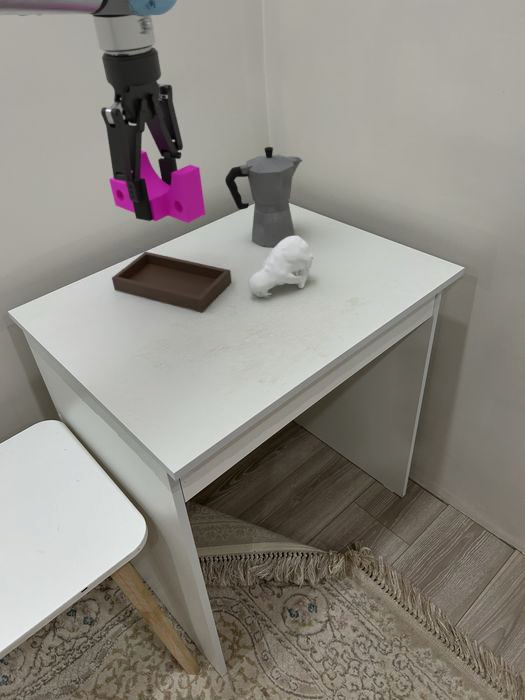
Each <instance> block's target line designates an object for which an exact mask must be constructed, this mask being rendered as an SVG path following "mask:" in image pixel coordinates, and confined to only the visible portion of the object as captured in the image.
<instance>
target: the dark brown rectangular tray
mask: <svg viewBox="0 0 525 700" xmlns="http://www.w3.org/2000/svg"><path fill="white" fill-rule="evenodd" d="M111 281H112V284H113V288H114V291H118V292H121V293H125V294H129V295H132V296H136V297H140V298H144V299H147V300H152V301H156V302H160V303H163V304H168V305H172V306H175V307H179V308H183V309H186V310H190V311H194V312H199V313H204V312H205V310H207V308H209V306H211V304H213V302H214V301H216V299H217V298H218V297H219V296H220V295H221V294H222V293H223V292H224V291H226V289H227V288H228V287H230V285H231V284H232V272H231V269H227V268H222V267H217V266H213V265H208V264H204V263H199V262H194V261H190V260H185V259H181V258H176V257H172V256H167V255H162V254H158V253H154V252H149V251H144V252H143V253H142V254H140V255H138V256H137V257H136V259H134V260H132V261H131V262H129V264H128V265H126V266H125V267H124V268H122V269H121V270H120V271H118V272H117V273H116V274H114V275H113V276H112V277H111Z"/></svg>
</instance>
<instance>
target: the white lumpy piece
mask: <svg viewBox="0 0 525 700" xmlns="http://www.w3.org/2000/svg"><path fill="white" fill-rule="evenodd" d="M272 248H273V249H271V251H270V252H269V254H268V257H267V259H266V260H265V261H264V262H263V264H262V268H261V269H260V270H258V271H256V272H255V273H253V275H251V277H250V278H249V280H248V287H249V290H250V291H251V293H252V294H254V295H256V296H257V297H258V298H261V297H265V298H268V297H269V296H270V295H272V293H271V292H269V290H270V289H272V288H274V287H276V286H283V285H285V284H290V285H293V284H294V285H295V284H296V285H297V288H299V289H303V288H304V287H305V284H306V281H307V279H308V277H309V273H310V271H311V269H312V265H313V261H314V256H313V255H312V253H311V248H310V245H309V244H308V242H307V241H306V240H304V239H303V238H302V237H300V236H299V235H295V236H289V237H286V238H285V239H283V240H282V241H280V242H279V243H278V244H277V245H276V246H275V247H272Z"/></svg>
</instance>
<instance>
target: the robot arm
mask: <svg viewBox="0 0 525 700" xmlns="http://www.w3.org/2000/svg"><path fill="white" fill-rule="evenodd" d="M177 2H178V0H0V16H20V17H25V16H32V15H33V16H43V15H45V16H47V15H49V16H50V15H51V16H52V15H91V16H92V19H93V24H94V29H95V34H96V40H97V43H98V48H99V49H100V50H102V51H103V52H104V53H103V54H102V56H101V60H102V64H103V69H104V73H105V78H106V79H105V80H106V81H107V83H108V84H110V86H111V87H112V88H113V92H114V95H113V96H114V98H113V104H111V105H110V106H109V107H102V108H101V110H100V114H101V116H102V119H103V121H104V125H105V128H106V133H107V140H108V148H109V154H110V162H111V168H112V176H113V177H114V179H115V180H120V181H125V182H126V184H127V188H128V192H129V197H130V200H131V201H132V202H133V206H134V211H135V213H134V214H135V219H137V220H143V221H147V222H151V221H153V220H152V219H153V217H152V212H151V207H150V202H149V197H148V192H147V187H146V182H145V179H143V178H140V176H141V150H142V141H143V140H142V139H143V133H144V132H145V128H146V126H147V129H148V130H149V133H150V135H151V137H152V139H153V141H154V144H155V145H156V148H157V150H158V152H159V154H160V156H161V157H160V158H159V159H158V160H157V162H158V167H159V173H160V178H161V179H162V180H163V181H164V182H165V183H166V184H168V185H171V180H172V175H171V173H172V172H174V171H176V170H178V164H177V160H180V159H181V158H182V152H181V151H182V150H183V148H184V145H183V139H182V135H181V132H180V126H179V123H178V117H177V113H176V109H175V106H174V100H173V99H174V97H173V86H172V85H171V84H163V83H158V81H159V80H160V78H161V77H162V70H161V66H160V65H161V64H160V58H159V51H158V50H157V49H156V48H155V47H153V46H154V45H155V44H156V42H157V41H156V35H155V30H154V24H153V18H152V16H161V15H164V14H166V13H168V12H169V11H170V10H172V9H173V8H174V7H175V5H176V3H177ZM131 170H132V171H133V172H131Z"/></svg>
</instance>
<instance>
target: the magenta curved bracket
mask: <svg viewBox="0 0 525 700" xmlns="http://www.w3.org/2000/svg"><path fill="white" fill-rule="evenodd" d="M131 172H133V171H132V170H131ZM171 175H172V180H171V185H168V184H166V183H165V182H164V181H163V180H162V178H161V176H159V174H158V173H157V172H156V171H155V169H154V166H153V165H152V164H151V160H150V159H149V156H148V153H147V151H145V150H143V149H141V176H140V178H143V179H145V182H146V187H147V192H148V197H149V202H150V207H151V212H152V217H153V219H152V220H151V221H154V222H158V221H160V220H162V219H164V218H166V217H171V218H174V219H176V220H178V221H181V222H184V223H185V224H189V223H191V222H193V221H195V220H197V219H199V218H201V217H204V216H205V215H206V208H205V201H204V194H203V186H202V178H201V170H200V167H199V166H196V165H193V164H188V165H186V166H183V167H181V168H179V169H177V170H176V171H174V172H172V173H171ZM108 180H109V185H110V189H111V192H112V196H113V197H112V198H113V201H114V205H115V206H116V207H119V208H121V209H123V210H125V211H128V212H131V213H134V214H135V211H134V206H133V202H132V201H131V200H130V197H129V192H128V188H127V184H126V182H125V181H120V180H115V179H114V176H113V177H111V178H109V179H108Z"/></svg>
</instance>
